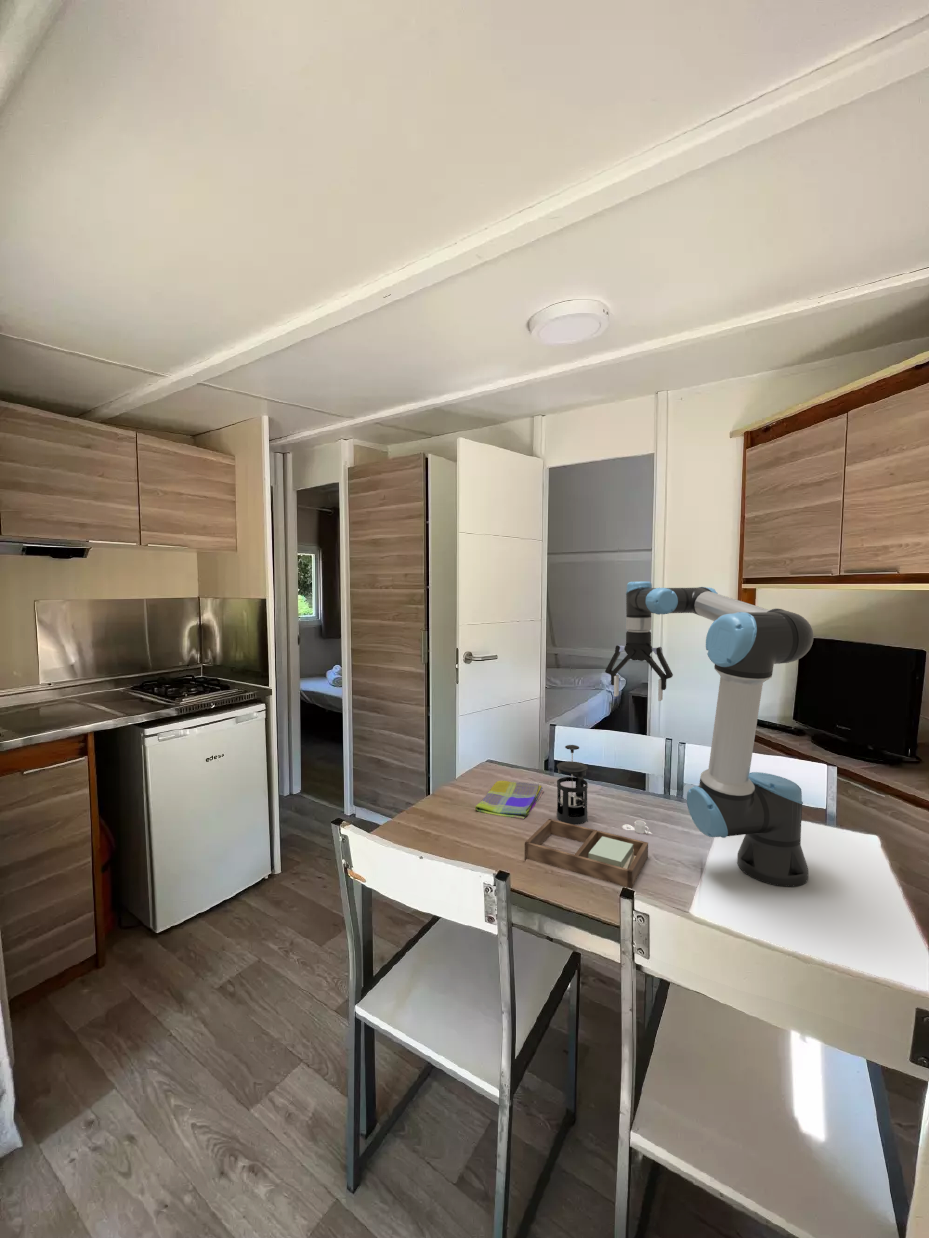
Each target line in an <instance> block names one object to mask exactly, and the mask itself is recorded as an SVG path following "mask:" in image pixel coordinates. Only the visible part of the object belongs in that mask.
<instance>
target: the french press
mask: <svg viewBox="0 0 929 1238" xmlns="http://www.w3.org/2000/svg"><path fill="white" fill-rule="evenodd" d="M564 748H565V749H567V750H569V751H570V753H571V760H570V761H568V760H567V761H562V762H561V761H560V762H559V763H557V764H556V768H557V769H558V771H557V773H558V775H559V774H562V773H563V772H566V773H569V774H571V776H565V777H561V778H558V779H557V780H556V787H557V789H556V790H557V793H556V794H557V799H556V801H557V807H556V818H557V819H556V820H557V821H560V822H564V823H569V824H573V825H577V826H579V825H583V824H585V823H589V819H588V787H589V786H588V785H589V784H588V781H587V780H586V779H584V777H586V775H587V770H588V765H587V764H585V763H583V762H579V761H574V759H573V758H574V756H573V754H574V751H575V750H579V749H580V746H578V745H576V744H567V745H565V746H564ZM564 782H571V787H568V786H564V785H561V783H564ZM573 782H575V787H574V783H573ZM561 791H562V795H561ZM569 793H571V794H569ZM574 793H575V794H574Z"/></svg>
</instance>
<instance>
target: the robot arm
mask: <svg viewBox="0 0 929 1238" xmlns="http://www.w3.org/2000/svg"><path fill="white" fill-rule="evenodd" d="M625 597H626V598H625V601H626V602H625V605H626V606H625V609H626V611H625V612H626V613H625V614H626V616H625V617H626V618H625V620H626V621H625V630H627V631H626V632H625V645H621V644H617V645H616V646H615V650H614V653H613V655H612V657H611V659H610V660H609V662H608V665H607V667H605V671H604V672H605V673H606V674H609V676H610V684H611V686H613V696H614V697H618V696H619V694H620V693H619V689H620V688H619V687H620V675H619V674H618V673H619V672H620V671H621V669H623V667H624V666H625V665H626V664H627V663H628V662H629V661H630V660H632V661H640V662H643V661H645V662H646V663H647V664H649V666H650V667H651V668H652V670H654V672H655V673H656V674H657V675H658V677H659V679H658V680H657V681H658V684H657V685H658V686H657V687H658V689H657V691H658V694H657V700H658V702H661V701H663V696H664V691H665V690H667V680H669V679H672V678H673V676H674V674H673V672H672V670H671V668H670V666H669V664H668V662H667V660H666V658H665V656H664V654H663V648H662V647H661V646H658V647H652V632H651V630H652V614H655V615H659V616H660V615H669V614H695V615H696V616H700V617H703V618H705V619H708V620H710V621H712V623H711V625H710V627H709V628H708V631H707V632H706V633H707V634H706V637H705V650H706V651H707V653H706V654H707V657H708V659H709V660H710V662H712V663H713V664H714V670H715V672H716V673H717V674H718V675H719V676H720V677H719V678H720V679H719V685H718V692H717V693H718V694H717V702H716V709H715V716H714V724H713V731H712V737H711V739H712V740H711V748H710V756H709V761H708V762H709V763H708V768H707V769H706V770H703V771H702V772H701V774H700V777H699V783H698V785H693V786H692V787H691V788H689V789H688V791H687V794H686V805H687V810H688V813H689V816H690V817H691V820H692V822H693V823H694V825H695V827H696V828H697V829H698V830H699V831H700V833H702V834H703V835H704V836H707V837H709V838H723V839H725V838H728V837H735V836H742V835H743V836H744V837H743V838H742V842H741V845H740V846H739V849H738V851H737V858H736V861H737V862H736V863H737V867H739V869H740V870H741V871H742V872H743V873H745V874H746V875H747V876H748V877H749V876H750V877H751V878H753V879H755V880H757V881H760V882H763V883H765V884H769V885H773V886H778V887H791V888H792V887H799V886H803V885H804V884H807V882H808V880H809V866H808V863H807V860H806V857H805V854H804V851H803V848H802V846H801V842H802V841H801V840H802V839H801V837H802V819H803V818H802V817H803V816H802V815H803V804H804V801H803V795H802V793H803V792H802V789H801V787H800V785H798V783H796V782H794V781H792V780H790V779H788V778H786V777H782V776H779V775H776V774H772V773H767V772H760V771H759V772H757V771H753V772H751V765H752V759H753V752H754V745H755V737H756V732H757V731H756V730H757V724H758V717H759V710H760V705H761V698H762V697H761V696H762V691H763V686H764V684H763V683H764V682H766V681H768V680H770V679H772V676H773V671H774V667H775V666H774V665H777V664H778V665H780V664H789V663H793V662H796V661H798V660H800V659H802V658H803V657H804V656H806V655H807V653H808V652H809V651H810V650H811V648H812V645H813V642H814V629H813V628H812V625H811V624H810V622H809V621H808V620H807V619H805V617H803V616H802V615H800V614H798V613H796V612H792V611H789V610H784V609H782V608H776V607H775V608H771V609H767V608H764V607H761V606H757V605H754V604H751V603H748V602H745V601H742V600H739V599H735V598H733V597H729V596H725V595H722V594H719V593H718V592H717V591H716V589H715V588H712V587H705V586H697V587H653V584H652V582H651V581H629V582H628V583H627V584H626V593H625ZM623 651H624V652H625V653H626V655H625V656H624V657H623V659H622V660H621V661H620V662H619V663H618V664H617V666H615V664H616V662H617V661H618V658H619V656H620V654H621V653H623ZM652 653H654V655H656V656H657V659H658V661H659V663H660V664H661V668H662V669H661V668H660V666H659V665H658V664H657V662H656V661H655V660H654V658H653V657H652V656H651V654H652ZM614 666H615V667H614Z"/></svg>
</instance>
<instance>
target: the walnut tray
mask: <svg viewBox="0 0 929 1238" xmlns="http://www.w3.org/2000/svg"><path fill="white" fill-rule="evenodd" d="M551 835H553V836H556V837H561V838H565V839H569V840H571V841H572V840H573V841H575V842H576V841H577V842H580V843H582V844H581V845H580V847H579V849H577V851H576V852H575V853H574V854H573V853H570V852H565V851H562V850H559V849H555V848H551V847H548V846H544V845H543V844H544V843H545V841H547V840H548V838H550V836H551ZM602 836H603V837H607V838H611V839H615V840H619V841H623V842H627V843H631V844H633V849H634V856H635V859H634V860H633V862H632V864H631V866H630V867H629V869H626V868H622V867H618V866H614V865H611V864H607V863H603V862H600V861H596V860H592V859H589V852H590V851H591V849H592V848H593V847H594V846H595V845H596V843H597V842H598V841H599V840H600V838H601V837H602ZM648 858H649V842H647V841H642V840H640V839H639V840H638V839H636V838H635V839H634V838H630V837H626V836H622V835H618V834H613V833H609V832H606V831H601V830H598V829H593V828H588V827H584V826H581V825H573V824H569V823H564V822H561V821H559V820H557V819H556V820H555V819H552V818H548V819H547V820H546V821H545V822H544V823H543V824H542V825H541V826H540V827H539V828H538V829H537V830H536V831H535V832H534V833H533V834H532V835H530V837H529V838H528V839H527V840H526V841H525V842H524V862H526V861H527V859H529V860H531V861H536V862H539V863H543V864H545V865H550V866H553V867H557V868H560V869H563V870H567V871H571V872H574V873H577V874H581V875H584V876H588V877H591V878H594V879H599V880H601V881H605V882H609V883H612V884H615V885H618V886H619V885H620V886H622V887H625V888H628V887H629V889H633V887H634V885H635V883H636V882H637V879H638V877H639V875H640V873H641V871H642V869H643V868H644V866H645V864H646V862H647V860H648Z"/></svg>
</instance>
